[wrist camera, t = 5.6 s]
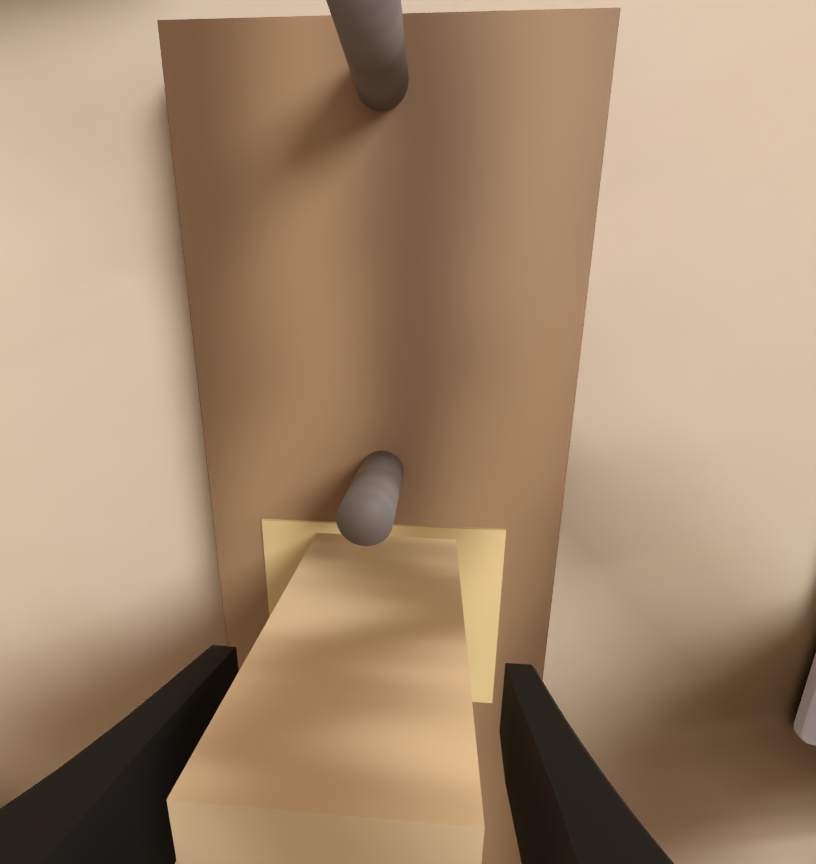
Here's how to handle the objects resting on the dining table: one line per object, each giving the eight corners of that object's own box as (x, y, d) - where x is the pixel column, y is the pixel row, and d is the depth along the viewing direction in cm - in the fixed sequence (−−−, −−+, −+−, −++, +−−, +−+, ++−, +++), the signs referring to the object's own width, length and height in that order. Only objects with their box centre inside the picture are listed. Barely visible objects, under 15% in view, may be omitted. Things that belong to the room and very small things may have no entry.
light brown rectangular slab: (455, 539, 12) (484, 827, 5) (446, 709, 13) (459, 1105, 7) (311, 532, 12) (154, 798, 5) (318, 699, 14) (203, 1073, 7)
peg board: (593, 52, 10) (713, -152, 6) (504, 900, 18) (527, 1089, 13) (195, 61, 11) (30, -119, 6) (272, 879, 18) (222, 1053, 14)
